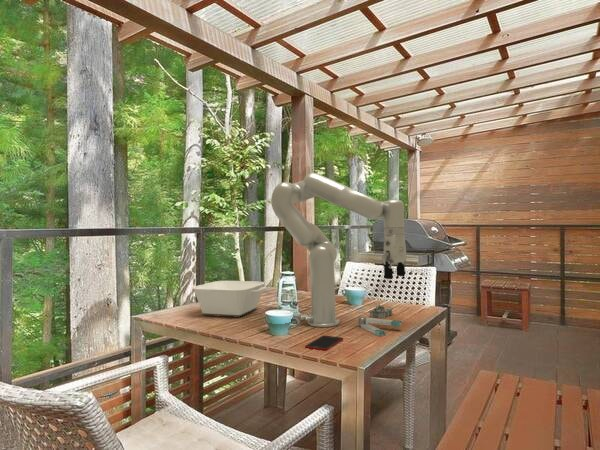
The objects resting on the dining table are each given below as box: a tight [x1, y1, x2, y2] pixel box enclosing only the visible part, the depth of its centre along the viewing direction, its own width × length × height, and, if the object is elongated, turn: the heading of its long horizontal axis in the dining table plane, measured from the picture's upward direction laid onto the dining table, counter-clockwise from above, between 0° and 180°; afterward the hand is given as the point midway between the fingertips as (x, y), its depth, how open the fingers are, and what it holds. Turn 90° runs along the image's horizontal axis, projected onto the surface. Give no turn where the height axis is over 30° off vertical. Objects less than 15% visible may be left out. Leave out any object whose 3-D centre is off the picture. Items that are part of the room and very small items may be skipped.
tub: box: [192, 280, 268, 318], centre depth 191 cm, size 34×27×13 cm
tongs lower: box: [358, 316, 386, 337], centre depth 155 cm, size 16×3×3 cm, turn 19°
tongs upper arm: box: [366, 317, 403, 328], centre depth 157 cm, size 13×3×2 cm, turn 59°
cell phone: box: [304, 335, 344, 352], centre depth 139 cm, size 8×15×1 cm, turn 152°
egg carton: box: [368, 304, 394, 319], centre depth 179 cm, size 11×8×4 cm
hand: (394, 277), depth 160 cm, fingers open, 9 cm apart
